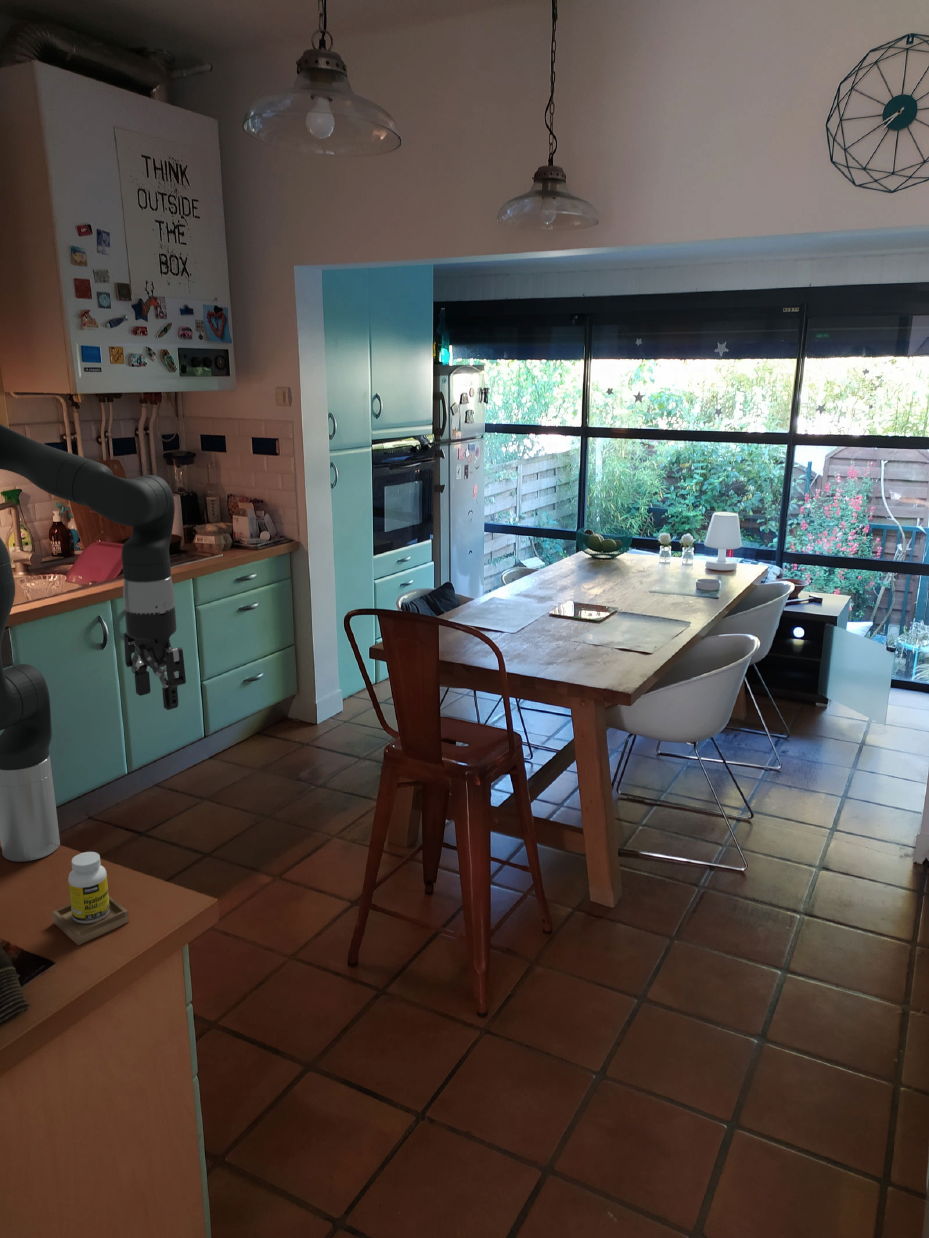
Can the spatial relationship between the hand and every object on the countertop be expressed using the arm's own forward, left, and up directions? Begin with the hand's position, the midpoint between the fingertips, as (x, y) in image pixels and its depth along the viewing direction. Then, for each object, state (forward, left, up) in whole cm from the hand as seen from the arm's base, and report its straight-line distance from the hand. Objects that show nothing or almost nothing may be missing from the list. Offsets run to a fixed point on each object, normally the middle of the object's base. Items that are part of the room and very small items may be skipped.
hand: (157, 701), depth 148 cm
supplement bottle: (+6, -17, -29) cm, 34 cm away
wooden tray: (+6, -17, -30) cm, 35 cm away
